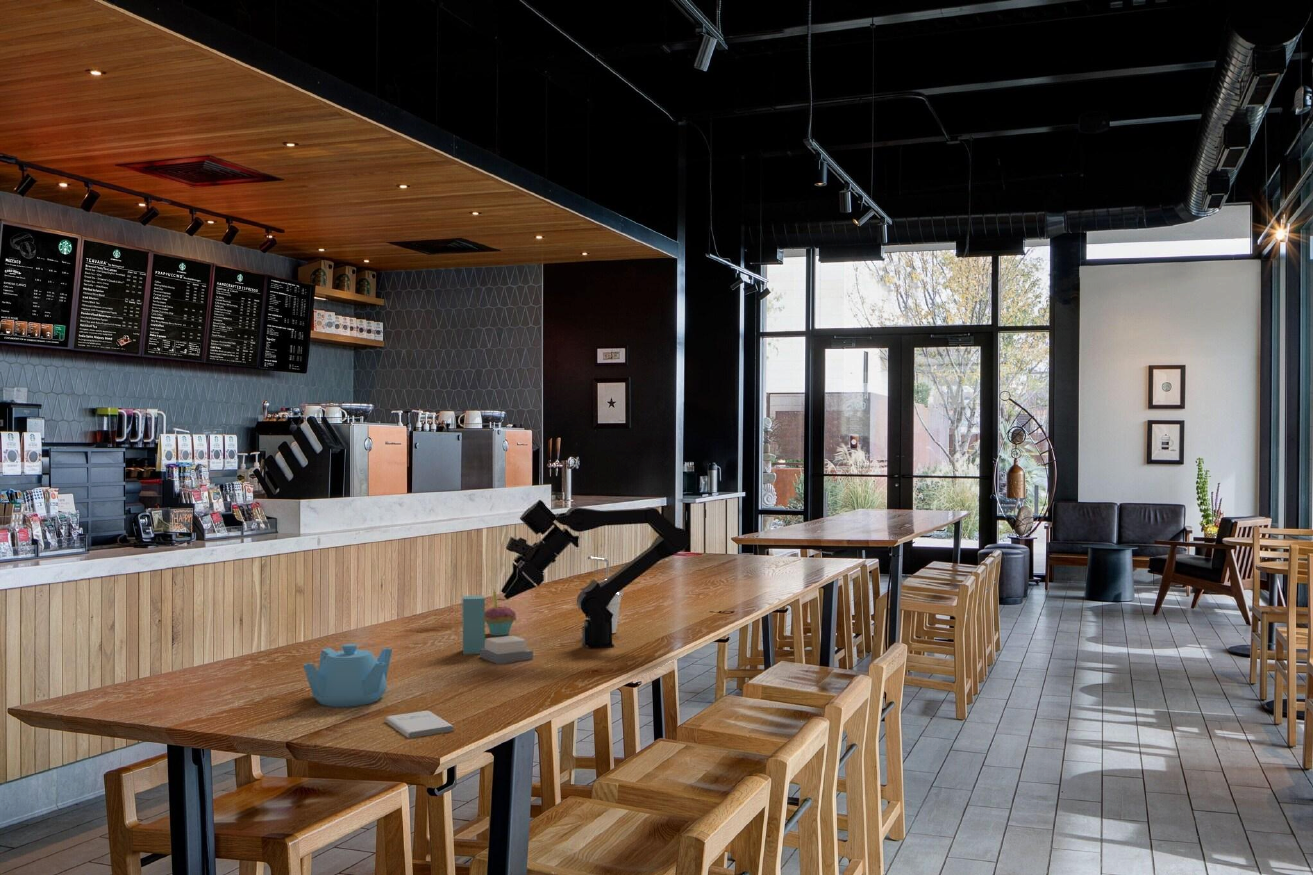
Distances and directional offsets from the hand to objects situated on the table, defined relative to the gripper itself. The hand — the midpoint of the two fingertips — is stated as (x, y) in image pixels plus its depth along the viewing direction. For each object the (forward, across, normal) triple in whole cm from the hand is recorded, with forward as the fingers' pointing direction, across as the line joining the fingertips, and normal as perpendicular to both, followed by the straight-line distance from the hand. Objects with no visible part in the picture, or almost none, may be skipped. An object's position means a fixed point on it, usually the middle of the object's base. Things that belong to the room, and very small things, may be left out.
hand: (503, 595), depth 255 cm
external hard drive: (+24, +65, -4) cm, 69 cm away
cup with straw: (-10, -18, +29) cm, 36 cm away
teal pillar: (+14, 0, +4) cm, 15 cm away
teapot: (+33, +42, -14) cm, 55 cm away
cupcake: (+9, -22, +10) cm, 26 cm away
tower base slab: (+10, +9, +10) cm, 17 cm away
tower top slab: (+8, +9, +8) cm, 15 cm away
